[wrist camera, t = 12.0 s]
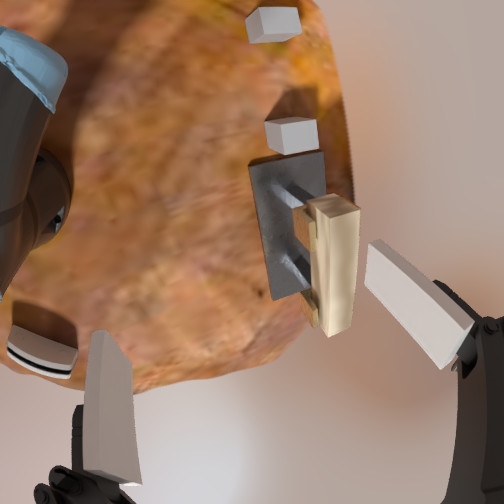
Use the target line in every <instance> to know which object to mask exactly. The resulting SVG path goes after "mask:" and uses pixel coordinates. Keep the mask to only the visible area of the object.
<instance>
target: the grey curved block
mask: <svg viewBox="0 0 504 504" xmlns="http://www.w3.org/2000/svg"><path fill="white" fill-rule="evenodd" d="M7 354H8V356H9V357H10V358H12V359H13V360H14V361H16V362H17V363H19V364H20V365H22V366H24V367H26V368H28V369H30V370H32V371H34V372H37V373H40V374H43V375H46V376H50V377H55V378H62V379H69V378H70V376H71V374H72V371H73V369H74V366H75V364H76V361H77V359H78V358H77V356H78V349H75V348H72V347H69V346H66V345H63V344H61V343H58V342H55V341H52V340H50V339H47V338H45V337H42V336H40V335H37V334H35V333H32V332H30V331H28V330H25V329H23V328H21V327H19V326H16V325H14V324H13V326H12V328H11V331H10V334H9V337H8V340H7Z"/></svg>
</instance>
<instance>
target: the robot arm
mask: <svg viewBox="0 0 504 504" xmlns="http://www.w3.org/2000/svg"><path fill="white" fill-rule="evenodd" d="M67 77H68V66H67V63H66V61H65V60H64V58H63V57H62V56H61V55H60V54H58V53H57V52H56V51H54V50H53V49H51V48H49V47H48V46H46V45H45V44H43V43H41V42H39V41H37V40H36V39H34V38H32V37H30V36H28V35H26V34H23V33H21V32H19V31H16V30H14V29H11V28H6V27H4V26H0V303H1V301H2V299H1V298H2V297H3V295H4V293H5V291H6V289H7V288H8V286H9V284H10V282H11V281H12V279H13V277H14V276H15V274H16V272H17V271H18V269H19V268H20V266H21V264H22V263H23V261H24V260H25V258H26V257H27V255H28V254H29V252H30V251H31V250H33V249H36V248H38V247H40V246H42V245H44V244H46V243H47V242H49V241H50V240H51V239H52V238H54V237H55V235H56V234H57V233H58V232H59V230H60V229H61V227H62V226H63V224H64V222H65V220H66V218H67V216H68V212H69V208H70V187H69V182H68V179H67V176H66V173H65V171H64V169H63V167H62V165H61V164H60V162H59V161H58V160H57V159H56V158H55V157H54V156H53V155H52V154H51V153H50V152H48V151H47V150H45V149H43V148H40V146H41V143H42V140H43V137H44V134H45V132H46V129H47V126H48V124H49V121H50V119H51V116H52V114H54V113H55V111H56V107H55V106H56V103H57V101H58V98H59V96H60V93H61V91H62V89H63V86H64V84H65V82H66V80H67ZM364 285H365V286H366V287H367V288H368V289H369V290H370V291H371V292H372V293H373V294H374V295H375V296H376V297H377V298H378V299H379V300H380V302H381V303H382V304H383V305H384V306H385V307H386V308H387V309H388V310H389V311H390V312H391V313H392V314H393V316H394V317H395V318H396V319H397V320H398V321H399V322H400V323H401V324H402V326H403V327H404V328H405V329H406V330H407V331H408V332H409V333H410V335H411V336H412V337H413V338H414V339H415V340H416V341H417V343H418V344H419V345H420V346H421V347H422V348H423V350H424V351H425V352H426V353H427V354H428V355H429V357H430V358H431V359H432V360H433V361H434V363H435V364H436V365H437V366H438V367H439V369H440V370H441V369H442V368H443V367H445V366H446V365H447V364H448V363H450V362H451V360H452V359H453V358H454V356H455V354H457V355H458V356H459V357H458V358H457V360H456V361H455V363H454V364H453V366H452V368H451V371H453V370H454V369H455V368H456V366H457V369H456V371H458V411H457V428H456V439H455V447H454V455H453V462H452V468H451V473H450V478H449V483H448V488H447V492H446V496H445V498H444V500H443V501H442V503H441V504H504V316H503V317H500V318H498V319H494V318H492V317H489V316H487V317H483V318H482V317H481V316H479V315H478V314H477V313H476V312H475V311H474V310H473V309H472V308H471V307H470V306H469V305H468V304H467V303H466V302H465V301H463V300H462V299H461V298H459V297H458V295H457V294H456V293H455V292H453V291H452V290H451V289H450V288H449V287H448V286H447V285H446V284H444V283H442V282H440V281H438V280H434V281H431V280H430V279H428V278H427V277H426V276H425V275H424V274H423V273H422V272H420V271H419V270H418V269H417V268H416V267H414V266H413V265H412V264H411V263H410V262H408V261H407V260H406V259H405V258H404V257H402V256H401V255H400V254H399V253H397V252H396V251H395V250H393V249H392V248H391V247H390V246H389V245H387V244H386V243H385V242H383V241H382V240H381V239H378V240H375V241H373V242H370V243H369V245H368V257H367V267H366V276H365V284H364ZM72 427H73V429H72V470H70V469H68V468H66V467H63V466H61V465H60V466H55V467H54V468H52V470H51V471H50V473H49V485H50V486H48V485H45V484H43V483H40V484H38V485H37V486H36V487H35V489H34V498H35V501H36V504H136V503H135V502H134V501H133V500H132V499H131V498H130V497H129V496H128V495H127V494H126V493H125V492H124V491H123V490H121V489H120V488H119V483H120V484H123V485H126V486H136V485H137V486H138V485H142V479H141V473H140V467H139V459H138V452H137V442H136V434H135V421H134V406H133V380H132V362H131V361H130V360H129V359H128V357H127V356H126V355H125V354H124V352H123V351H122V350H121V349H120V347H119V346H118V345H117V343H116V342H115V341H114V339H113V338H112V337H111V335H110V334H109V333H108V331H107V330H106V329H102V330H99V331H95V332H92V337H91V343H90V350H89V357H88V364H87V373H86V383H85V394H84V404H83V405H77V406H76V408H75V411H74V414H73V418H72Z"/></svg>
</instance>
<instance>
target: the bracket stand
mask: <svg viewBox="0 0 504 504" xmlns="http://www.w3.org/2000/svg"><path fill="white" fill-rule="evenodd" d="M248 169H249V175H250V180H251V186H252V191H253V196H254V202H255V207H256V213H257V219H258V224H259V230H260V235H261V241H262V247H263V252H264V258H265V264H266V269H267V275H268V281H269V287H270V293H271V298H272V300H273V301H275V300H277V299H280V298H283V297H286V296H289V295H291V294H294V293H297V292H300V291H301V292H300V302H301V310H302V312H303V313H304V315H305V317H306V318H307V320H308V321H309V323H310V324H311V326H312V327H313V328H315V327H318V308H317V307H316V306H315V304H314V303H313V301H312V283H311V261H310V253H312V252H315V251H317V249H316V229H315V221H314V220H313V219H312V218H311V217H309V216H308V215H307V203H306V200H310V199H314V198H317V197H321V196H325V195H327V194H326V178H325V164H324V152H323V151H321V150H319V151H314V152H309V153H303V154H298V155H293V156H289V157H284V158H279V159H275V160H270V161H266V162H261V163H257V164H253V165H249V166H248ZM339 197H341V198H343V199H344V200H346V201H347V202H349V203H350V204H352V205H354V206H355V207H357V208H358V209H360V207H358V206H357V205H355V204H354V203H352V202H351V201H349V200H348V199H346V198H344V197H343V196H341V195H339ZM360 210H361V209H360ZM360 213H361V211H360ZM359 236H360V225H359ZM305 289H306V290H305ZM302 290H303V291H302ZM354 298H355V294H354ZM353 307H354V303H353Z"/></svg>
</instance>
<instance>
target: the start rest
mask: <svg viewBox="0 0 504 504" xmlns="http://www.w3.org/2000/svg"><path fill="white" fill-rule="evenodd" d="M245 23H246V28H247V33H248V38H249V43H250V44H253V43H266V42H284V41H286V40H288V39H290V38H293V37H295V36H297V35H300V34H302V29H301V24H300V20H299V15H298V11H297V7H258V8H257V9H256V10H255V11H254V12H253V13H252V14H251V15H250V16H248V17H247V18H246V19H245ZM264 124H265V130H266V136H267V142H268V148H270V149H273V150H275V151H277V152H279V153H281V154H283V155H288V154H293V153H298V152H303V151H308V150H314V149H319V142H318V133H317V124H316V119H310V118H303V117H296V116H295V117H288V118H282V119H276V120H270V121H264Z"/></svg>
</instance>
